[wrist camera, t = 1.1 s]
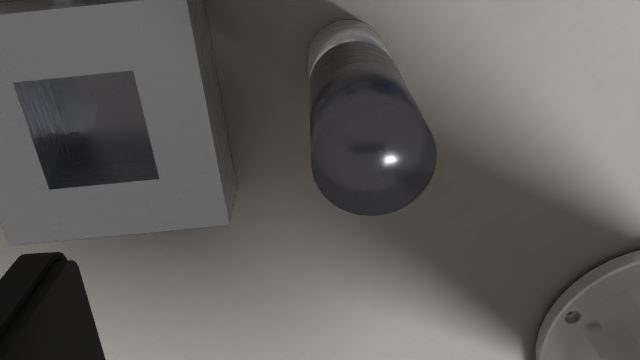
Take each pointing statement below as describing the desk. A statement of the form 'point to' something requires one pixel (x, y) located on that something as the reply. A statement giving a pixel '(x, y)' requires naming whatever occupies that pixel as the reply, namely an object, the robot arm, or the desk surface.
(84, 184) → the block
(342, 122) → the dark gray capped cylinder
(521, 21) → the desk surface
